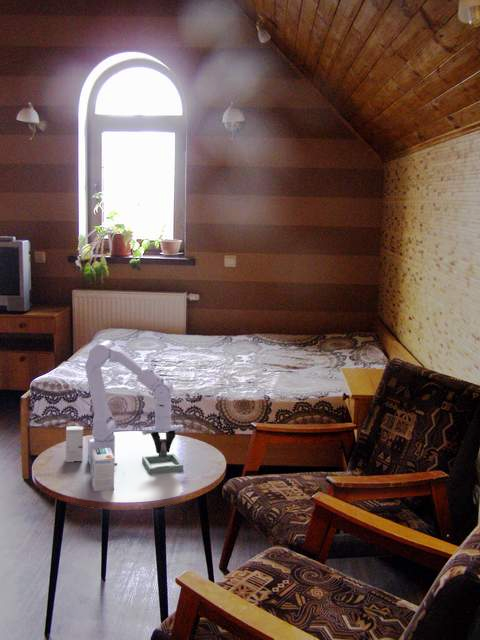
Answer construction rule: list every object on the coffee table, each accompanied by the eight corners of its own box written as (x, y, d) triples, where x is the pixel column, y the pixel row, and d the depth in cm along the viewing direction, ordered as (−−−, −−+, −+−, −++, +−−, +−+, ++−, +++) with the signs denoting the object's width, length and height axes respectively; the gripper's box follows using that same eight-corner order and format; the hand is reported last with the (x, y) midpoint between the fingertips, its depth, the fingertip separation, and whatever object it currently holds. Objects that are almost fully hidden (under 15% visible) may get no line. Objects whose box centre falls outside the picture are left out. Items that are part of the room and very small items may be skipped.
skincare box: (65, 462, 237) (65, 430, 235) (65, 458, 241) (65, 426, 239) (83, 461, 238) (83, 429, 236) (83, 457, 242) (83, 425, 240)
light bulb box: (90, 479, 222) (90, 448, 221) (110, 477, 225) (110, 447, 223) (93, 491, 213) (93, 459, 211) (114, 489, 215) (115, 458, 213)
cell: (159, 458, 233) (159, 440, 233) (157, 455, 236) (157, 438, 235) (167, 457, 234) (168, 440, 234) (165, 454, 237) (166, 437, 236)
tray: (149, 474, 228) (149, 468, 228) (142, 462, 239) (142, 456, 239) (183, 470, 233) (183, 465, 232) (174, 458, 244) (174, 453, 243)
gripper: (145, 420, 227) (145, 457, 229) (186, 416, 232) (185, 453, 234) (141, 414, 233) (140, 450, 235) (180, 411, 239) (179, 447, 241)
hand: (162, 451), depth 235 cm, fingers closed on cell, 3 cm apart
